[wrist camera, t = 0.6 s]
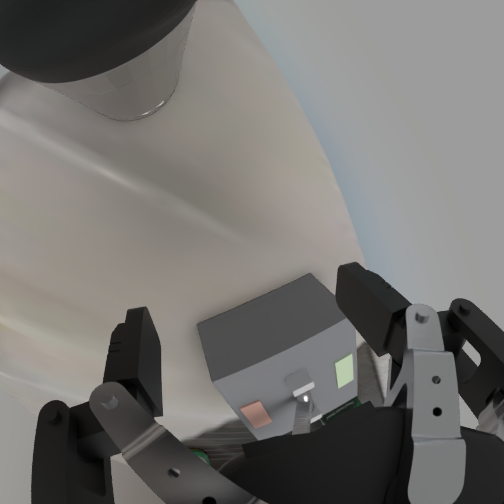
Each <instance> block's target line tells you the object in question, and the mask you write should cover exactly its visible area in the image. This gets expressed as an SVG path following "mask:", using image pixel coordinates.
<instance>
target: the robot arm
mask: <svg viewBox="0 0 504 504" xmlns="http://www.w3.org/2000/svg"><path fill="white" fill-rule="evenodd" d="M196 3H197V0H0V64H1V65H2V66H4V67H5V68H7V69H8V70H10V71H12V72H14V73H17V74H19V75H21V76H23V77H26V78H28V79H30V80H32V81H35V82H37V83H39V84H41V85H43V86H46V87H48V88H50V89H52V90H55V91H57V92H59V93H61V94H63V95H65V96H67V97H69V98H71V99H73V100H76V101H78V102H80V103H82V104H84V105H86V106H88V107H90V108H91V109H93V110H95V111H97V112H99V113H101V114H103V115H105V116H107V117H109V118H112V119H115V120H120V121H131V120H137V119H141V118H144V117H146V116H148V115H150V114H152V113H154V112H156V111H157V110H158V109H159V108H161V107H162V106H163V105H164V104H165V103H166V102H167V101H168V100H169V98H170V97H171V95H172V93H173V92H174V90H175V87H176V84H177V81H178V76H179V71H180V67H181V62H182V58H183V53H184V49H185V45H186V41H187V36H188V33H189V29H190V25H191V21H192V18H193V13H194V10H195V6H196ZM335 297H336V303H337V305H338V307H339V309H340V310H341V311H342V312H343V314H344V315H345V316H346V317H347V319H348V320H349V321H350V322H351V323H352V325H353V326H354V327H355V328H356V330H357V331H358V332H359V333H360V334H361V336H362V337H363V338H364V339H365V341H366V342H367V343H368V344H369V346H370V347H371V348H372V349H373V351H374V352H375V353H376V354H377V356H378V357H381V356H383V355H385V354H387V353H389V354H390V355H391V357H390V359H389V370H388V383H387V393H386V399H385V402H384V405H383V406H382V407H374V406H373V404H372V403H371V401H368V402H366V403H364V404H361V405H359V406H357V407H355V408H352V409H350V410H348V411H345V412H343V413H341V414H340V415H339V416H337V417H336V418H334V419H333V420H331V421H330V422H329V423H327V424H326V425H324V426H323V427H321V428H320V429H318V430H317V431H315V432H311V433H304V434H294V435H282V436H274V437H270V438H267V439H263V440H259V441H255V442H251V443H246V444H242V447H243V451H244V452H243V453H241V454H239V455H237V456H235V457H234V458H232V459H230V460H229V461H228V462H226V463H225V464H224V465H223V466H222V467H221V468H220V469H219V470H218V471H216V470H215V469H214V468H212V467H211V466H210V465H208V464H207V463H206V462H204V461H203V460H202V459H201V458H199V457H198V456H197V455H196V454H194V453H193V452H192V451H191V450H190V449H188V448H187V447H186V446H185V445H184V444H183V443H181V442H180V441H179V440H178V439H177V438H176V437H175V436H174V435H172V434H171V433H170V432H169V431H168V430H167V429H166V428H165V427H164V426H162V425H159V424H158V423H157V422H156V421H155V420H154V417H160V416H163V406H162V381H161V345H160V340H159V337H158V334H157V331H156V329H155V326H154V324H153V321H152V319H151V316H150V313H149V311H148V309H147V307H146V306H145V307H139V308H134V309H128V310H127V315H126V320H125V323H121V324H118V325H117V327H116V328H115V330H114V331H113V332H112V335H111V340H110V345H109V350H108V352H109V353H108V355H107V360H106V366H105V372H104V378H103V384H101V385H99V386H98V387H96V388H95V389H94V390H93V392H92V393H91V395H90V398H89V401H88V402H85V403H83V404H80V405H77V406H74V407H71V408H69V407H68V406H67V405H66V404H65V403H64V402H62V401H59V400H53V401H50V402H48V403H47V404H45V405H44V406H43V407H42V409H41V410H40V413H39V416H38V422H37V428H36V435H35V442H34V452H33V463H32V483H31V502H32V503H31V504H115V503H114V495H113V486H112V475H111V463H110V462H111V461H110V456H113V455H116V454H119V453H123V454H122V456H123V458H124V459H125V461H126V462H127V463H128V464H129V466H130V467H131V468H132V469H133V470H134V471H135V473H136V474H137V475H138V476H139V477H140V478H141V479H142V480H143V481H144V482H145V483H146V484H147V486H148V487H150V489H151V490H152V491H153V492H154V493H155V494H157V496H158V497H160V498H161V499H162V500H163V501H164V502H165V503H166V504H504V332H503V331H502V330H501V329H500V328H499V327H498V326H497V325H496V324H495V323H494V322H493V321H492V320H491V319H490V318H489V317H488V316H487V315H485V314H484V313H483V312H482V311H481V310H480V309H479V308H478V307H477V306H476V305H475V304H473V303H472V302H471V301H469V300H466V299H462V298H460V299H459V298H458V299H455V300H453V301H452V303H451V305H450V308H449V310H447V311H440V312H436V311H435V310H434V309H433V308H431V307H429V306H427V305H424V304H413V305H412V304H411V303H410V302H409V301H408V300H407V299H406V298H404V297H403V296H402V295H401V294H400V293H399V292H398V291H396V290H395V289H394V288H392V287H391V285H390V284H388V283H387V282H385V280H384V279H383V278H381V277H380V276H379V275H378V274H376V273H373V272H371V271H369V270H366V269H364V268H363V267H362V266H361V265H360V264H359V263H357V262H352V263H348V264H344V265H340V266H339V268H338V272H337V284H336V294H335ZM466 340H467V341H468V342H469V343H470V344H471V345H472V346H473V347H474V348H475V349H476V350H477V352H478V353H479V354H480V357H481V363H480V365H479V366H478V367H477V365H476V364H475V363H474V362H473V361H472V360H471V358H469V356H468V355H467V354H466V353H465V352H464V351H463V349H462V347H463V345H464V344H465V342H466ZM458 393H459V394H460V396H461V397H462V398H463V400H464V401H465V403H466V404H467V405H468V407H469V408H470V409H471V411H472V412H473V414H474V415H475V416H476V418H477V419H478V422H479V425H478V426H477V428H476V430H475V429H471V428H467V427H463V426H460V410H459V396H458Z"/></svg>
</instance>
